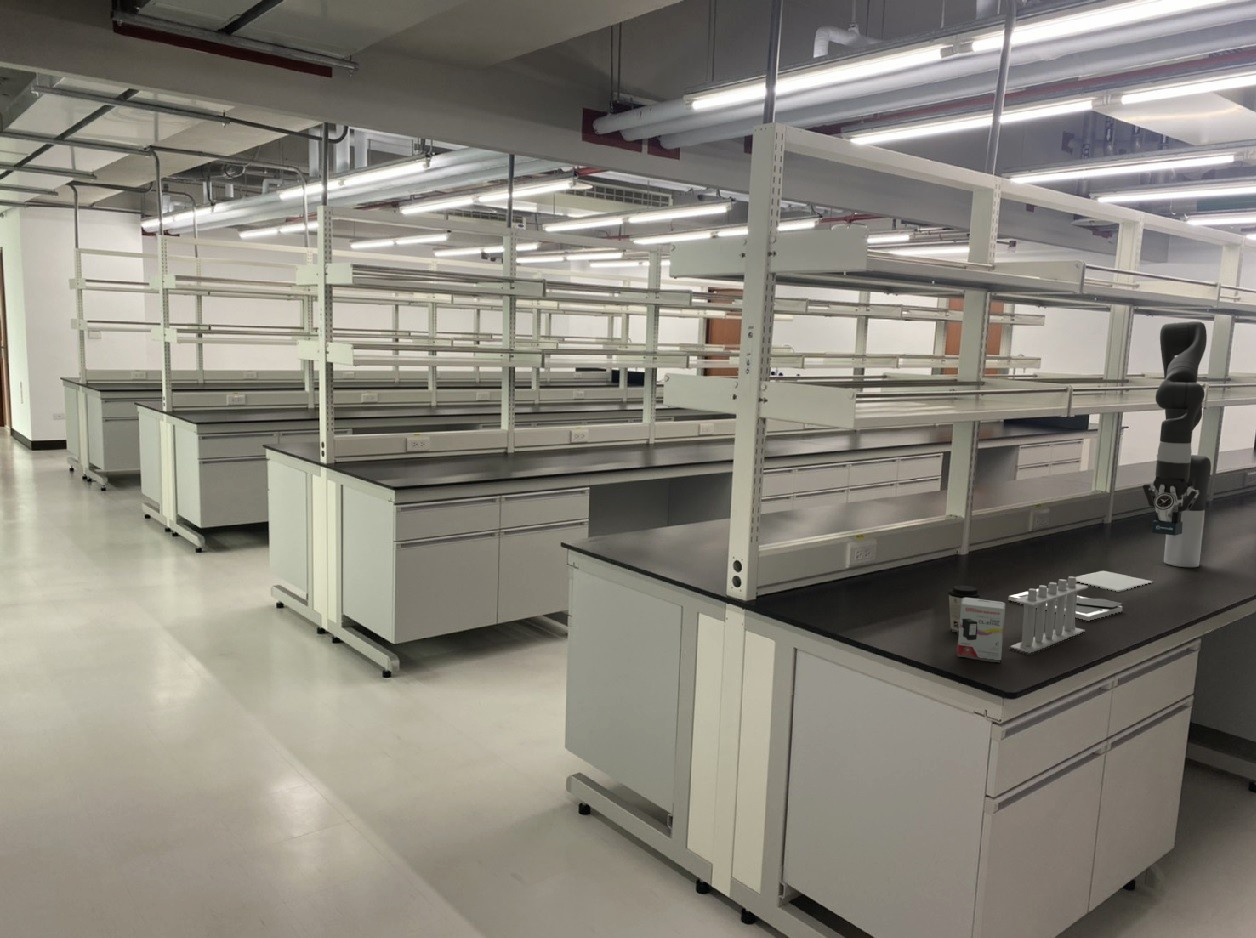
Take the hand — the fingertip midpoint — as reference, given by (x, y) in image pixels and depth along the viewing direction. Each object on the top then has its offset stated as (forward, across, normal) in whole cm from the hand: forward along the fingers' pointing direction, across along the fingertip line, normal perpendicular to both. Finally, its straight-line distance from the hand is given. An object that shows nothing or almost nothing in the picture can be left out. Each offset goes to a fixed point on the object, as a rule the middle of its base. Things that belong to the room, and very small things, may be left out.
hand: (1167, 524), depth 236 cm
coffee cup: (+19, +8, +73) cm, 76 cm away
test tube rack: (+19, -6, +62) cm, 66 cm away
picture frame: (+20, +7, +34) cm, 40 cm away
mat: (+19, +14, -1) cm, 23 cm away
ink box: (+19, -5, +85) cm, 87 cm away
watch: (+3, 0, 0) cm, 3 cm away
